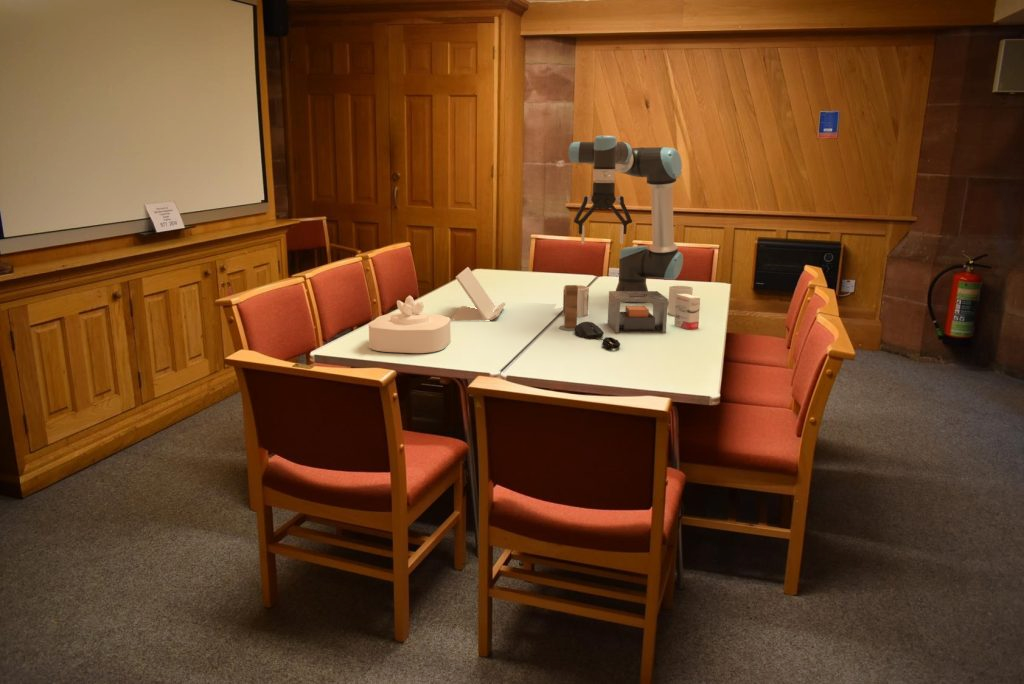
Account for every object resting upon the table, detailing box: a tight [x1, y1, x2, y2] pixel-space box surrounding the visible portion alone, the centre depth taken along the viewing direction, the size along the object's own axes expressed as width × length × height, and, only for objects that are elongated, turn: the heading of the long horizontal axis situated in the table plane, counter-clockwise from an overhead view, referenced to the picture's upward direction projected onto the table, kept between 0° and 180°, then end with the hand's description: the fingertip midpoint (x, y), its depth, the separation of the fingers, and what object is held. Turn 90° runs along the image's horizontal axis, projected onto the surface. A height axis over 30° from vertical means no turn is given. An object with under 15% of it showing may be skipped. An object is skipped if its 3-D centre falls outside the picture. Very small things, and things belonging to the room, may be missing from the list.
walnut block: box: [563, 284, 578, 328], centre depth 279 cm, size 4×4×15 cm
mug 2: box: [667, 285, 694, 317], centre depth 306 cm, size 12×9×11 cm
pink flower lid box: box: [368, 294, 452, 354], centre depth 255 cm, size 25×25×16 cm
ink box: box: [674, 294, 701, 331], centre depth 284 cm, size 8×5×12 cm, turn 26°
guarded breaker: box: [607, 290, 669, 334], centre depth 281 cm, size 16×18×12 cm
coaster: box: [558, 324, 575, 332], centre depth 281 cm, size 8×8×1 cm
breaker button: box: [624, 305, 650, 317], centre depth 281 cm, size 7×7×6 cm
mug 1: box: [562, 284, 590, 318], centre depth 302 cm, size 10×12×11 cm
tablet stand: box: [450, 266, 506, 321], centre depth 302 cm, size 18×25×17 cm
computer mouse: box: [574, 321, 621, 350], centre depth 263 cm, size 8×28×5 cm, turn 22°
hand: (602, 243), depth 273 cm, fingers open, 13 cm apart
